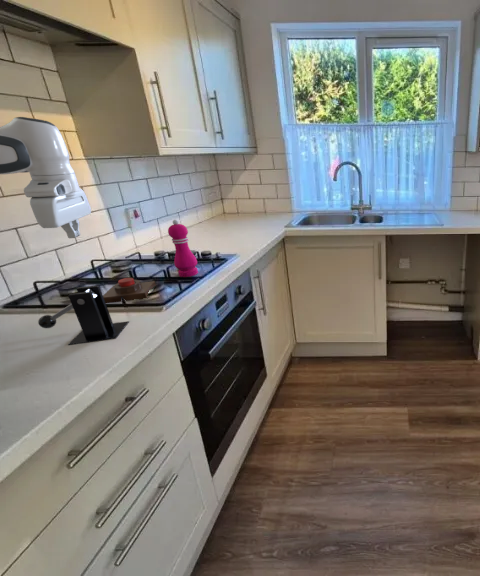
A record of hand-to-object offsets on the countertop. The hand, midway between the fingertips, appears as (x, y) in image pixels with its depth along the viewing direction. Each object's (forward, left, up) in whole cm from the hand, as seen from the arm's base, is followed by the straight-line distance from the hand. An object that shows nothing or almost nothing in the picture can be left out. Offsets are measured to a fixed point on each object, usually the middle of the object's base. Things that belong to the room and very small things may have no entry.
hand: (74, 237), depth 100 cm
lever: (+4, -22, -14) cm, 26 cm away
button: (+6, +6, -18) cm, 19 cm away
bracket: (+8, -21, -21) cm, 31 cm away
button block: (+6, +6, -21) cm, 23 cm away
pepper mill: (+20, +21, -21) cm, 36 cm away
